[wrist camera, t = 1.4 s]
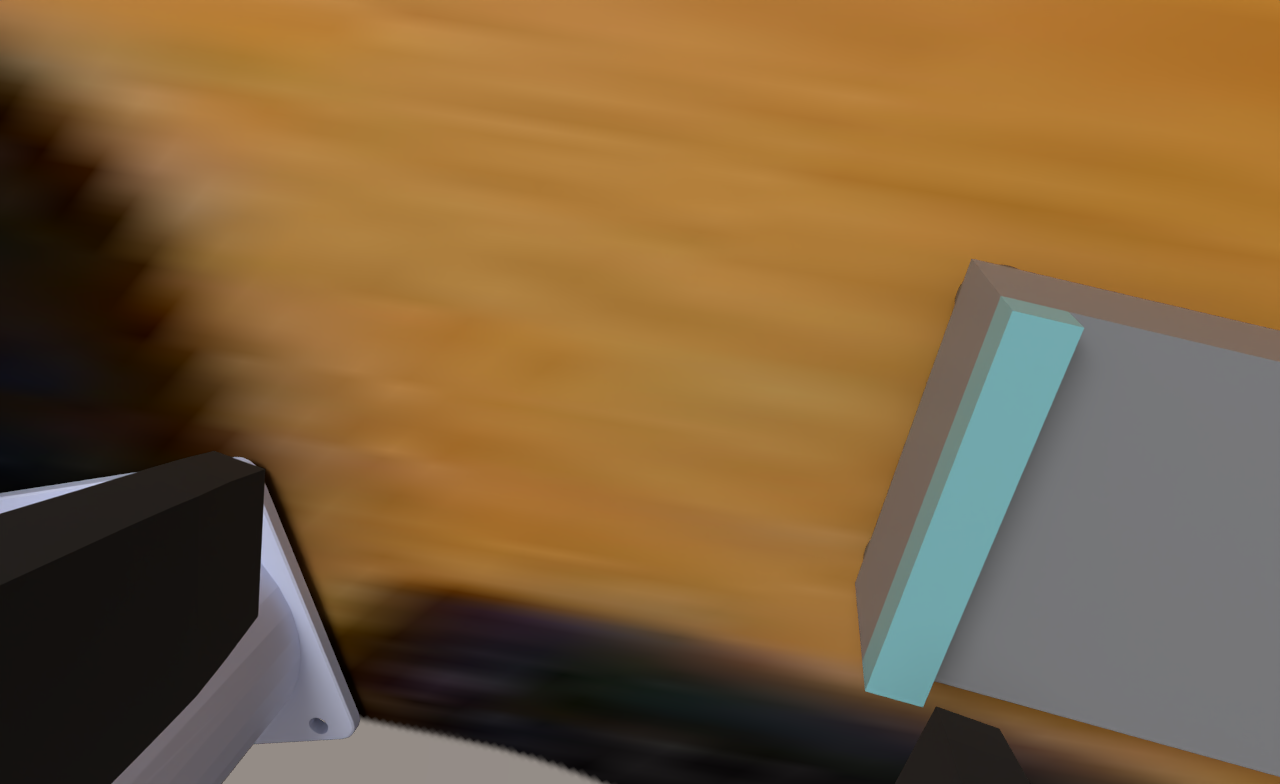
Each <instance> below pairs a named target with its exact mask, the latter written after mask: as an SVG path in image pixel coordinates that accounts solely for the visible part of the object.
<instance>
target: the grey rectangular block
mask: <svg viewBox="0 0 1280 784" xmlns="http://www.w3.org/2000/svg"><path fill="white" fill-rule="evenodd" d="M855 587H856V597H857V608H858V619H859V630H860V641H861V651H862V662H863V673H864V684H865V691H866V692H870V693H874V694H877V695H881V696H884V697H888V698H891V699H895V700H899V701H902V702H906V703H909V704H913V705H916V706H920V707H923V706H924V703H925V701H926V699H927V696H928V694H929V692H930V689H931V687H932V685H933V682H934V681H936V682H939V683H943V684H947V685H950V686H954V687H957V688H961V689H965V690H968V691H972V692H975V693H979V694H983V695H986V696H990V697H993V698H997V699H1001V700H1004V701H1008V702H1012V703H1015V704H1019V705H1022V706H1026V707H1030V708H1033V709H1037V710H1040V711H1044V712H1048V713H1051V714H1055V715H1058V716H1062V717H1066V718H1069V719H1073V720H1077V721H1080V722H1084V723H1087V724H1091V725H1095V726H1098V727H1102V728H1105V729H1109V730H1113V731H1116V732H1120V733H1124V734H1127V735H1131V736H1134V737H1138V738H1142V739H1145V740H1149V741H1152V742H1156V743H1160V744H1163V745H1167V746H1170V747H1174V748H1178V749H1181V750H1185V751H1189V752H1192V753H1196V754H1199V755H1203V756H1207V757H1210V758H1214V759H1217V760H1221V761H1225V762H1228V763H1232V764H1235V765H1239V766H1243V767H1246V768H1250V769H1254V770H1257V771H1261V772H1264V773H1268V774H1272V775H1275V776H1279V777H1280V331H1278V330H1274V329H1270V328H1266V327H1261V326H1257V325H1253V324H1249V323H1244V322H1240V321H1236V320H1231V319H1227V318H1223V317H1219V316H1214V315H1210V314H1206V313H1202V312H1197V311H1193V310H1189V309H1184V308H1180V307H1176V306H1172V305H1167V304H1163V303H1159V302H1155V301H1150V300H1146V299H1142V298H1137V297H1133V296H1129V295H1125V294H1120V293H1116V292H1112V291H1108V290H1103V289H1099V288H1095V287H1090V286H1086V285H1082V284H1078V283H1073V282H1069V281H1065V280H1061V279H1056V278H1052V277H1048V276H1043V275H1039V274H1035V273H1031V272H1026V271H1022V270H1019V269H1017V268H1014V267H1011V266H1007V265H997V264H992V263H988V262H984V261H979V260H975V259H971V262H970V265H969V267H968V270H967V273H966V276H965V279H964V281H963V282H962V284H961V285H960V287H959V289H958V291H957V294H956V298H955V306H954V309H953V312H952V315H951V318H950V320H949V323H948V326H947V329H946V332H945V334H944V337H943V340H942V343H941V346H940V348H939V351H938V354H937V357H936V359H935V362H934V365H933V368H932V371H931V373H930V376H929V379H928V382H927V385H926V387H925V390H924V393H923V396H922V398H921V401H920V404H919V407H918V410H917V412H916V415H915V418H914V421H913V424H912V426H911V429H910V432H909V435H908V437H907V440H906V443H905V446H904V449H903V451H902V454H901V457H900V460H899V463H898V465H897V468H896V471H895V474H894V477H893V479H892V482H891V485H890V488H889V490H888V493H887V496H886V499H885V502H884V504H883V507H882V510H881V513H880V516H879V518H878V521H877V524H876V527H875V529H874V532H873V535H872V538H871V540H870V541H869V543H868V544H867V546H866V548H865V552H864V558H863V563H862V566H861V569H860V571H859V574H858V577H857V580H856V582H855Z"/></svg>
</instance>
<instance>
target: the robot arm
mask: <svg viewBox="0 0 1280 784" xmlns="http://www.w3.org/2000/svg"><path fill="white" fill-rule="evenodd" d="M319 718H320V719H322V720H324V721H325V722H326V723H325V722H323V721H322V720H320V719H319ZM359 722H360V717H359V713H358V710H357V708H356V705H355V703H354V701H353V698H352V696H351V693H350V691H349V688H348V686H347V683H346V681H345V678H344V676H343V673H342V671H341V669H340V666H339V664H338V661H337V659H336V656H335V654H334V651H333V649H332V646H331V644H330V642H329V639H328V637H327V634H326V632H325V629H324V627H323V624H322V622H321V619H320V617H319V615H318V612H317V610H316V607H315V605H314V602H313V600H312V597H311V595H310V592H309V590H308V587H307V585H306V583H305V580H304V578H303V575H302V573H301V570H300V568H299V565H298V563H297V560H296V558H295V556H294V553H293V551H292V548H291V546H290V543H289V541H288V538H287V536H286V533H285V531H284V528H283V526H282V524H281V521H280V519H279V516H278V514H277V511H276V509H275V506H274V504H273V501H272V499H271V497H270V494H269V492H268V489H267V487H266V484H265V469H264V468H261V467H258V466H256V465H255V464H253V463H252V462H251V461H250V460H247V459H245V458H243V457H230V456H227V455H224V454H221V453H218V452H215V451H213V452H208V453H204V454H200V455H196V456H192V457H188V458H184V459H181V460H177V461H173V462H170V463H166V464H163V465H160V466H156V467H153V468H149V469H146V470H143V471H139V472H135V473H128V474H122V475H115V476H109V477H102V478H96V479H89V480H83V481H76V482H70V483H63V484H57V485H50V486H44V487H37V488H31V489H24V490H18V491H11V492H5V493H0V784H222V783H223V781H225V779H226V778H227V777H228V775H229V774H230V773H231V772H232V770H233V769H234V768H235V767H236V765H237V764H238V763H239V761H240V760H241V759H242V758H243V756H244V755H245V754H246V753H247V751H248V750H249V749H250V748H251V746H252V745H253V744H264V743H282V742H298V741H314V740H332V739H344V738H348V737H350V736H351V735H352V734H353V733H354V731H355V730H356V728H357V727H358V725H359ZM895 784H1030V783H1029V781H1028V779H1027V777H1026V775H1025V774H1024V772H1023V770H1022V768H1021V766H1020V765H1019V763H1018V761H1017V759H1016V757H1015V756H1014V754H1013V752H1012V750H1011V748H1010V747H1009V745H1008V743H1007V741H1006V740H1005V738H1004V736H1003V735H1002V733H1001V731H1000V729H998V728H995V727H993V726H990V725H987V724H984V723H981V722H978V721H976V720H973V719H970V718H967V717H964V716H962V715H959V714H956V713H953V712H950V711H947V710H945V709H942V708H939V707H936V708H935V710H934V712H933V713H932V715H931V717H930V719H929V721H928V723H927V725H926V726H925V728H924V730H923V732H922V734H921V736H920V738H919V740H918V741H917V743H916V745H915V747H914V749H913V751H912V753H911V755H910V756H909V758H908V760H907V762H906V764H905V766H904V768H903V769H902V771H901V773H900V775H899V777H898V779H897V781H896V783H895Z"/></svg>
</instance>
